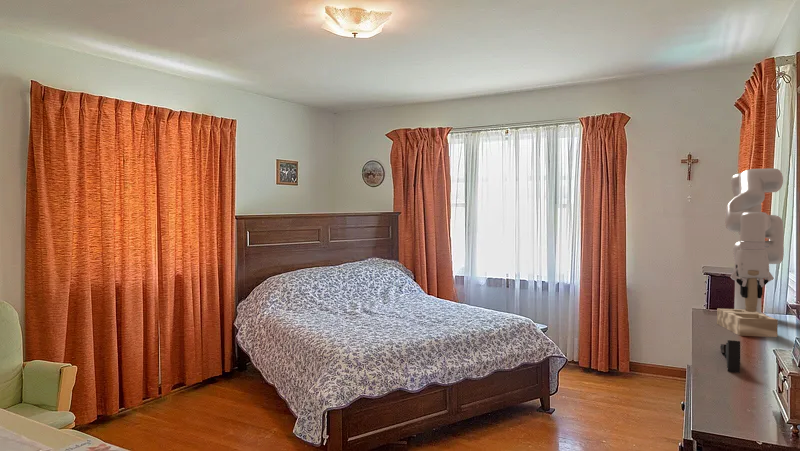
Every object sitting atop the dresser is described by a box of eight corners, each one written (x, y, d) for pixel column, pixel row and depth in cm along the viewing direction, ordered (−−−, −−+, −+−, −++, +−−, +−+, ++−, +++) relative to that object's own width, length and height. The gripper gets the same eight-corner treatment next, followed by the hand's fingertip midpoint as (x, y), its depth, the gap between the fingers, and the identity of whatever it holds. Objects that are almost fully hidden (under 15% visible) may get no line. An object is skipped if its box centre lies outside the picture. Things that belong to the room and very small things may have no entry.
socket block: (716, 323, 211) (717, 308, 211) (750, 325, 209) (751, 309, 209) (739, 335, 191) (739, 318, 191) (777, 337, 189) (777, 319, 189)
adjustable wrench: (729, 368, 168) (740, 373, 145) (719, 367, 169) (728, 371, 147) (729, 341, 169) (740, 341, 147) (719, 340, 170) (728, 340, 148)
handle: (759, 311, 197) (760, 269, 197) (758, 313, 192) (759, 271, 192) (743, 309, 200) (744, 268, 200) (742, 312, 195) (743, 270, 194)
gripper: (772, 246, 198) (771, 296, 198) (722, 245, 201) (721, 295, 201) (783, 247, 190) (782, 300, 191) (731, 246, 193) (730, 298, 194)
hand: (751, 297), depth 196 cm, fingers closed on handle, 3 cm apart
